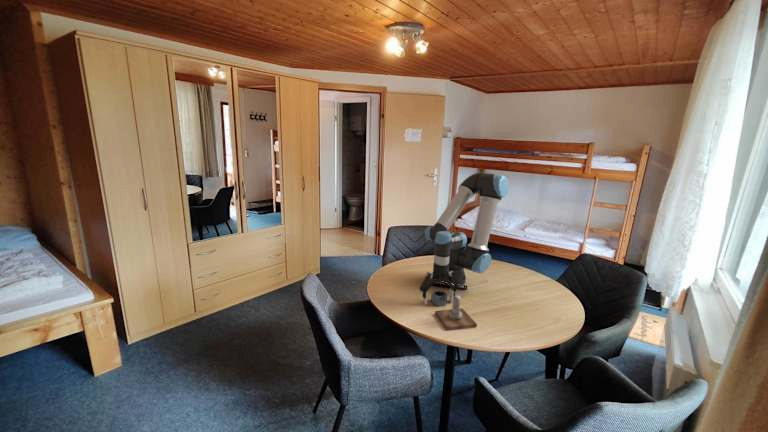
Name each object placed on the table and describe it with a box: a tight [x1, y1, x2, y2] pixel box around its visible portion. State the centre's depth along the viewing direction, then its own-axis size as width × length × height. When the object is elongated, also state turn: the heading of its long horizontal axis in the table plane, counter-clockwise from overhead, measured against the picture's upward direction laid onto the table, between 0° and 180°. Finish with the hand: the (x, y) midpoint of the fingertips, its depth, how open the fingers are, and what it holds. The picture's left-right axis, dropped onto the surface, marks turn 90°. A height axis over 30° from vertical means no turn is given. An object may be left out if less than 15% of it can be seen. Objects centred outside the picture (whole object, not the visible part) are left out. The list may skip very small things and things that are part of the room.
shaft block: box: [434, 294, 478, 331], centre depth 148 cm, size 14×14×12 cm
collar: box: [430, 289, 448, 308], centre depth 165 cm, size 7×7×5 cm
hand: (438, 302), depth 165 cm, fingers open, 13 cm apart
